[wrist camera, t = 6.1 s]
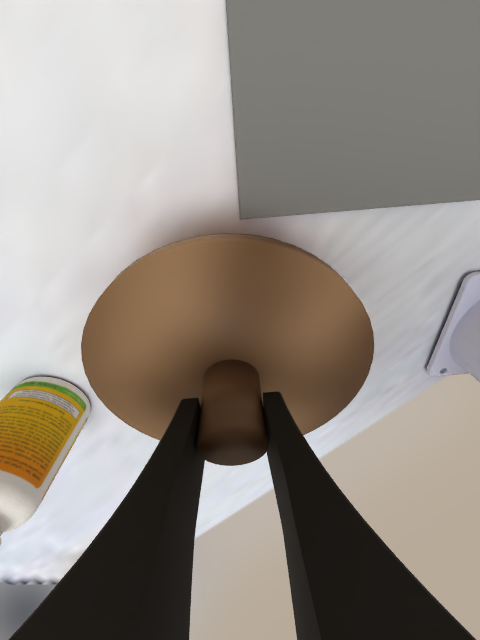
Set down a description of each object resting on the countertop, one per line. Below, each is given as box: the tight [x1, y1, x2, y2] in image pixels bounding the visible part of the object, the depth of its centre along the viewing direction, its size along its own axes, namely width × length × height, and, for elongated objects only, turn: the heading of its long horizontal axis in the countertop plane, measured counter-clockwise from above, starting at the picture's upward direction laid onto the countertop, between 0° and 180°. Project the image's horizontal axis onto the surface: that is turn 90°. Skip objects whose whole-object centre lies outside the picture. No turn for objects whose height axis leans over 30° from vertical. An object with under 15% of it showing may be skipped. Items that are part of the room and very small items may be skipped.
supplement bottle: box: [0, 377, 91, 545], centre depth 15 cm, size 5×5×10 cm
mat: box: [226, 0, 480, 219], centre depth 10 cm, size 12×12×1 cm
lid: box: [81, 234, 374, 466], centre depth 10 cm, size 12×12×4 cm
